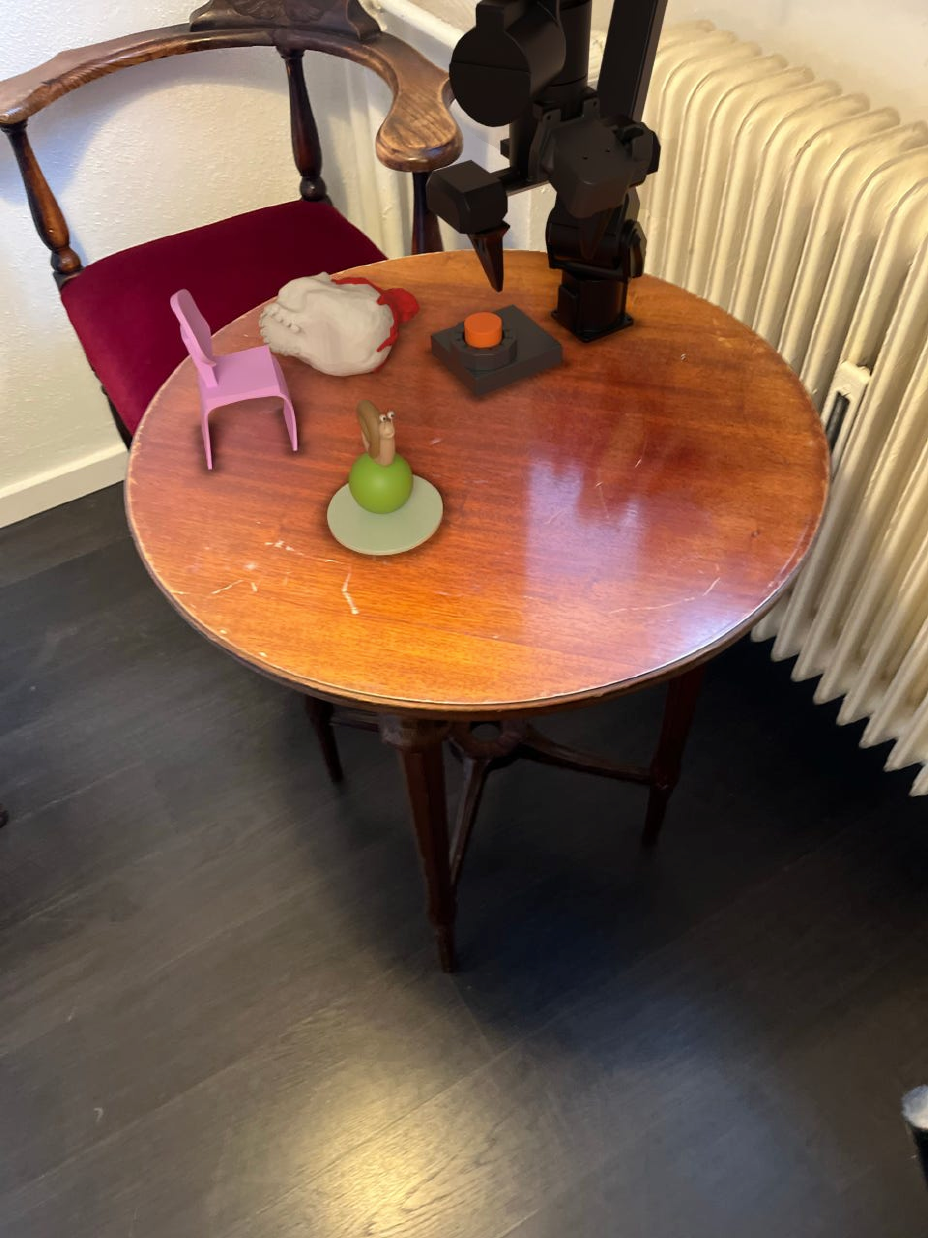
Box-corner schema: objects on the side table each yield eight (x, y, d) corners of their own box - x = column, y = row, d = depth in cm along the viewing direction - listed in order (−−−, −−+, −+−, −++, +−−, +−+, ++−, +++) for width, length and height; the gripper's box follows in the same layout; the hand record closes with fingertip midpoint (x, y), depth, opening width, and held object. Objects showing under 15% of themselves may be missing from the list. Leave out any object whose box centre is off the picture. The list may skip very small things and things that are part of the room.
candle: (260, 366, 91) (373, 321, 98) (330, 412, 85) (443, 361, 93) (249, 280, 84) (370, 239, 92) (323, 324, 79) (445, 276, 87)
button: (489, 323, 88) (489, 307, 87) (508, 341, 86) (508, 324, 85) (458, 335, 87) (457, 319, 86) (477, 353, 85) (476, 337, 84)
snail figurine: (374, 543, 74) (354, 427, 65) (343, 497, 78) (320, 382, 69) (432, 519, 76) (420, 403, 66) (399, 476, 79) (384, 360, 70)
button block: (513, 322, 95) (513, 287, 92) (561, 363, 90) (563, 328, 87) (429, 354, 92) (426, 319, 89) (474, 398, 87) (473, 363, 84)
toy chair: (304, 456, 82) (270, 309, 71) (209, 477, 81) (158, 331, 69) (290, 403, 87) (256, 259, 76) (200, 422, 86) (152, 278, 75)
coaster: (408, 460, 81) (408, 456, 81) (464, 525, 76) (464, 521, 75) (309, 502, 78) (308, 497, 78) (359, 572, 73) (358, 568, 72)
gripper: (497, 143, 57) (500, 354, 69) (723, 75, 62) (689, 281, 74) (414, 88, 63) (430, 290, 75) (626, 30, 69) (609, 227, 81)
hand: (542, 273), depth 76 cm, fingers open, 9 cm apart
